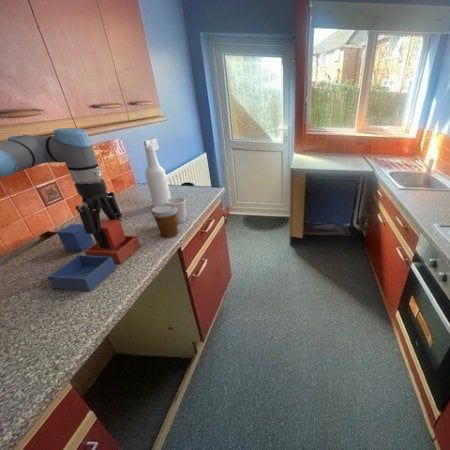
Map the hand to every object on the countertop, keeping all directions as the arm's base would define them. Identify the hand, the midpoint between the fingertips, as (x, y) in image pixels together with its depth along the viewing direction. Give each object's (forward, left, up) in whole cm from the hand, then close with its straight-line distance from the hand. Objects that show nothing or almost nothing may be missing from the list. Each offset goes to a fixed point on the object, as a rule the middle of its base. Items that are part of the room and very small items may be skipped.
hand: (112, 242), depth 89 cm
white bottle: (-6, +44, -5) cm, 45 cm away
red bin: (0, 0, -5) cm, 5 cm away
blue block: (-16, +3, -5) cm, 17 cm away
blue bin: (0, -14, -5) cm, 14 cm away
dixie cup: (+10, +29, -5) cm, 31 cm away
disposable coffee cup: (+12, +16, -5) cm, 21 cm away
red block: (0, 0, 0) cm, 0 cm away
